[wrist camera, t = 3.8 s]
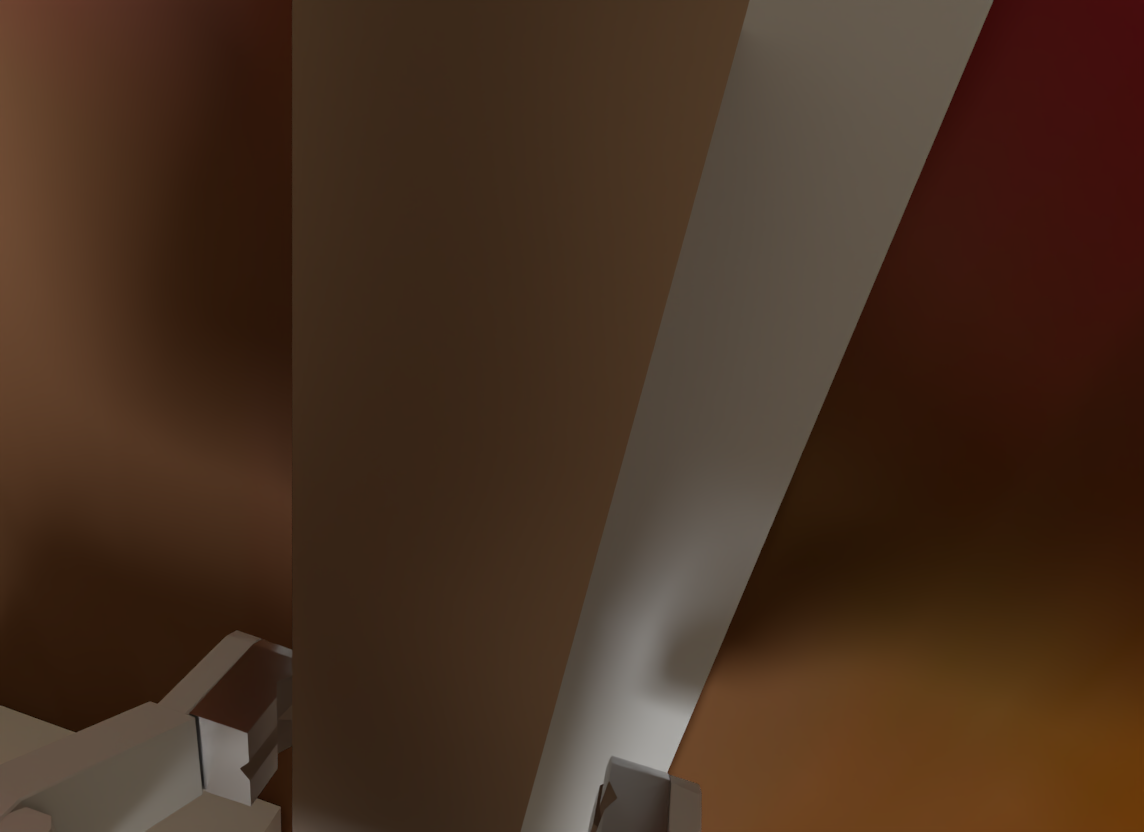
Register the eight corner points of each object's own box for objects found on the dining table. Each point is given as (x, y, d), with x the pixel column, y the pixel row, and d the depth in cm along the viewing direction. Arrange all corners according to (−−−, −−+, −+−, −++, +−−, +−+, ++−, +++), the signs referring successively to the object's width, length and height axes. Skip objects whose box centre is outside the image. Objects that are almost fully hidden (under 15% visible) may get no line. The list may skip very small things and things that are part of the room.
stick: (741, 27, 7) (778, -109, 3) (484, 963, 16) (421, 1192, 13) (497, -22, 7) (292, -195, 4) (382, 925, 17) (292, 1137, 13)
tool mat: (1029, -132, 6) (1061, -160, 6) (562, 1003, 18) (557, 1030, 17) (340, -247, 7) (309, -280, 7) (311, 908, 18) (299, 931, 18)
